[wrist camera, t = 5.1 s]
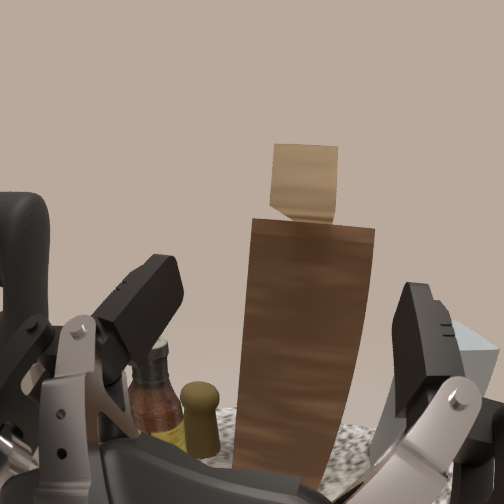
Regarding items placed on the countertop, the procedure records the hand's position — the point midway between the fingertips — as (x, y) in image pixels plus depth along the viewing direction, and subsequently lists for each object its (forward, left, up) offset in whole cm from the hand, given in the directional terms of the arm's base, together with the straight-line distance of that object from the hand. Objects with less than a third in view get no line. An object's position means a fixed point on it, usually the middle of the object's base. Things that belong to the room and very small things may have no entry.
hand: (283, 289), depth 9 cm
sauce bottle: (-18, +6, -29) cm, 34 cm away
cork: (-20, +14, -29) cm, 38 cm away
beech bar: (-7, +14, +3) cm, 16 cm away
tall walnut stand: (-9, +19, -29) cm, 35 cm away
